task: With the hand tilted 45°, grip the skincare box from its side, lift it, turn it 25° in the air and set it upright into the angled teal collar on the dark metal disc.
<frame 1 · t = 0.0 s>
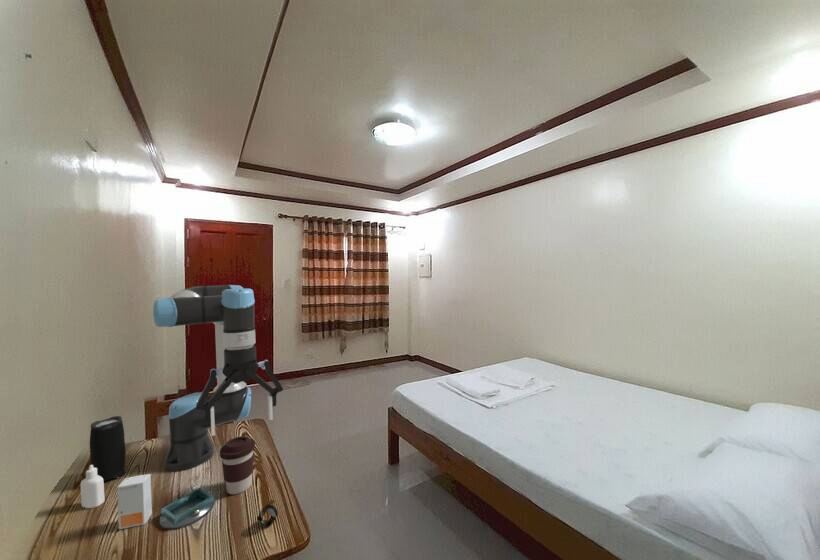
hand: (243, 425, 83), 28 cm above the table, tool pointing down, fingers open, 13 cm apart
keyed nest: (188, 511, 91), on the table
eye dropper bottle: (93, 505, 95), on the table
smartwatch: (267, 525, 85), on the table
skincare box: (136, 522, 87), on the table
coffee cup: (239, 487, 101), on the table
portable speaker: (109, 477, 108), on the table
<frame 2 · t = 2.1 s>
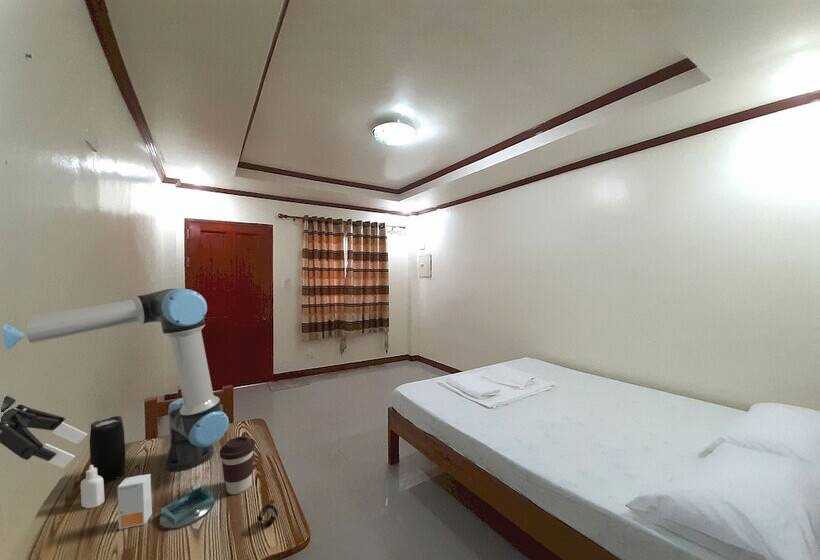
hand: (76, 449, 80), 25 cm above the table, tool tilted 45°, fingers open, 13 cm apart
nothing on the table moved.
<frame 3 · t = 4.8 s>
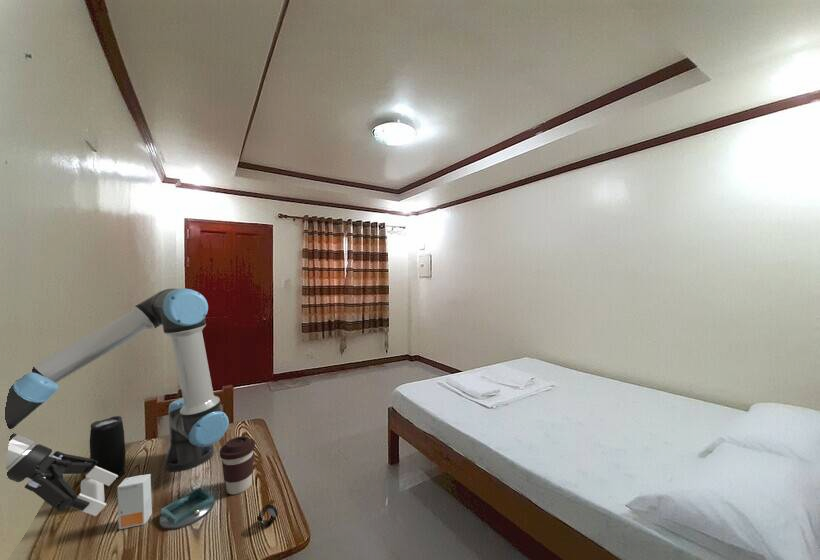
hand: (108, 494, 84), 10 cm above the table, tool tilted 45°, fingers open, 13 cm apart
nothing on the table moved.
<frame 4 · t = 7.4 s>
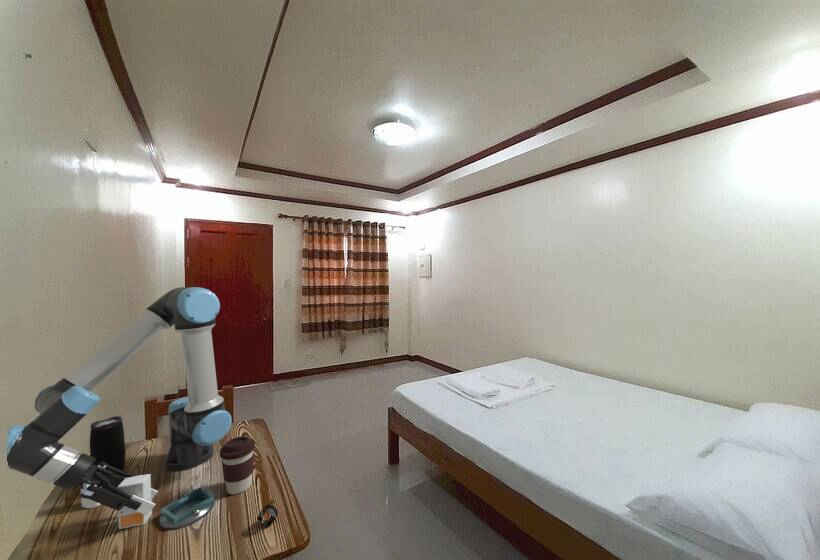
hand: (152, 502, 89), 4 cm above the table, tool tilted 45°, fingers closed on skincare box, 6 cm apart
skincare box: (136, 522, 87), on the table, touching gripper
everything else where it was.
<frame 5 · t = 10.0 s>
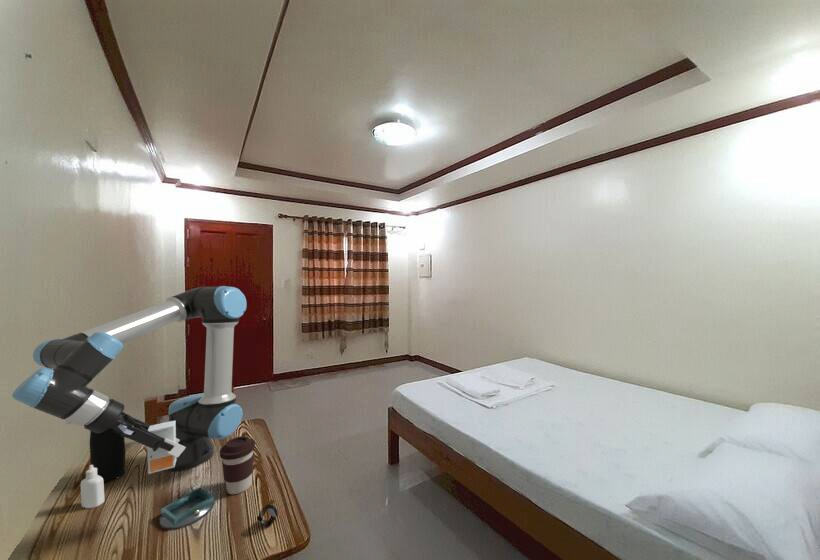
hand: (178, 448, 91), 18 cm above the table, tool tilted 45°, fingers closed on skincare box, 6 cm apart
skincare box: (163, 468, 88), point 14 cm above the table, touching gripper
everything else where it was.
when the fingers open (7 cm above the table, at t = 12.8 s): skincare box drops 2 cm, resting on keyed nest.
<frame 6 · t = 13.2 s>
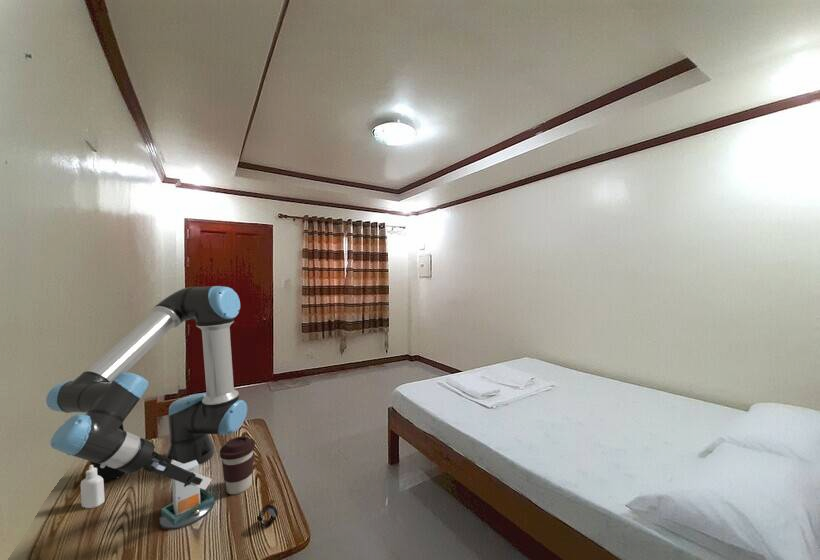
hand: (197, 477, 93), 8 cm above the table, tool tilted 45°, fingers open, 11 cm apart
skincare box: (187, 508, 91), point 1 cm above the table, touching keyed nest
everything else where it was.
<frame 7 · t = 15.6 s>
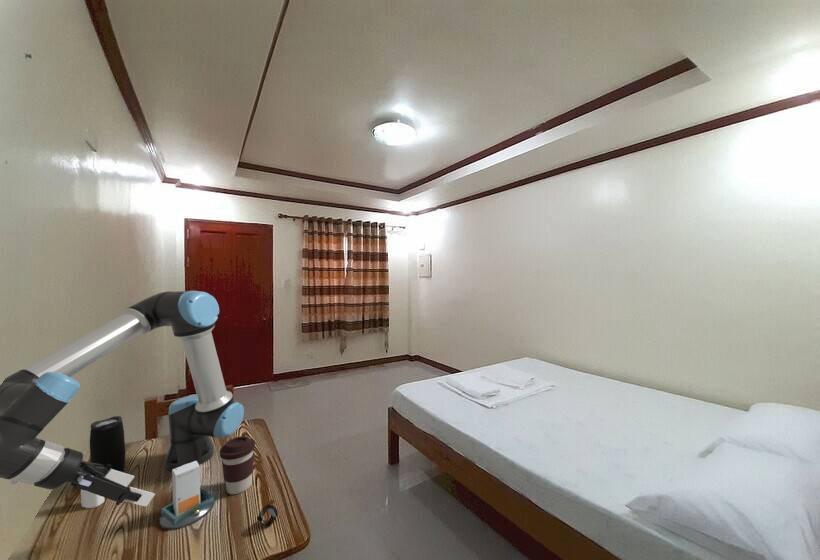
hand: (139, 490, 81), 13 cm above the table, tool tilted 45°, fingers open, 13 cm apart
nothing on the table moved.
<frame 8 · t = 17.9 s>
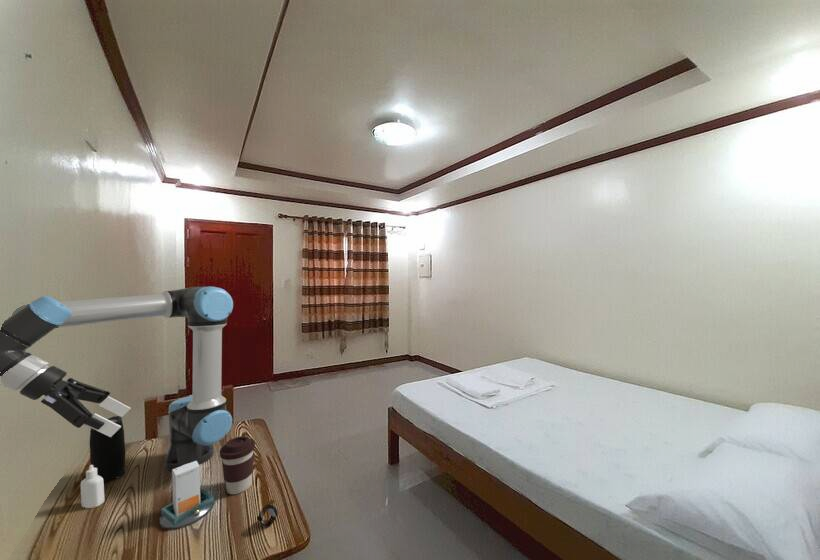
hand: (121, 421, 84), 30 cm above the table, tool tilted 45°, fingers open, 13 cm apart
nothing on the table moved.
at the end: skincare box 0.2 cm off-centre on the keyed nest, point 0.8 cm above the keyed nest's base; skincare box tilted 0°; the gripper is holding nothing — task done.
